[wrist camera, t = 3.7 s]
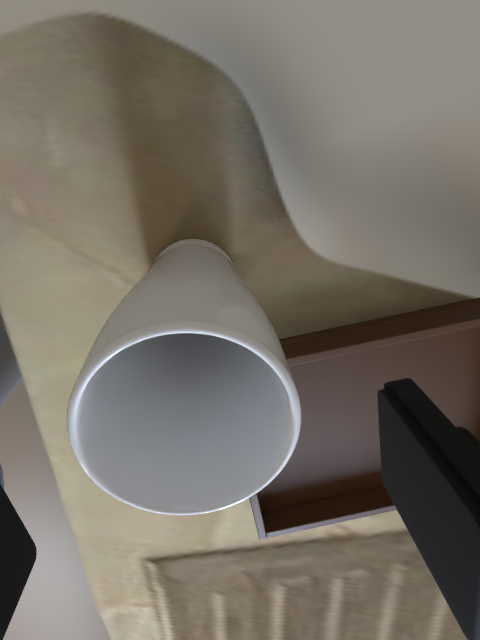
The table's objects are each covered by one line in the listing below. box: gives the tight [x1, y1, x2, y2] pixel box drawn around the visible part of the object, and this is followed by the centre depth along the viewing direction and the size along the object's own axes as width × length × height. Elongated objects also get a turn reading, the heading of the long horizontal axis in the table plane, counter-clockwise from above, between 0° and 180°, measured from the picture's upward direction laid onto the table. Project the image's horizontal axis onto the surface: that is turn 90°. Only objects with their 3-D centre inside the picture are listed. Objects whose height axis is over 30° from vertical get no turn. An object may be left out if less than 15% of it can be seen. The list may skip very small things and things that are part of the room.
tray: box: [250, 298, 480, 539], centre depth 29 cm, size 19×15×3 cm
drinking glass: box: [67, 239, 301, 515], centre depth 18 cm, size 7×7×15 cm
